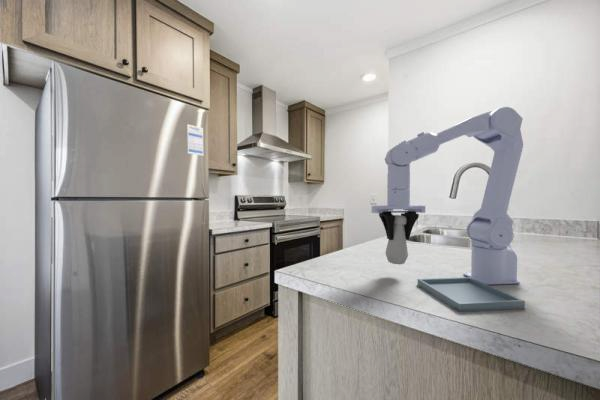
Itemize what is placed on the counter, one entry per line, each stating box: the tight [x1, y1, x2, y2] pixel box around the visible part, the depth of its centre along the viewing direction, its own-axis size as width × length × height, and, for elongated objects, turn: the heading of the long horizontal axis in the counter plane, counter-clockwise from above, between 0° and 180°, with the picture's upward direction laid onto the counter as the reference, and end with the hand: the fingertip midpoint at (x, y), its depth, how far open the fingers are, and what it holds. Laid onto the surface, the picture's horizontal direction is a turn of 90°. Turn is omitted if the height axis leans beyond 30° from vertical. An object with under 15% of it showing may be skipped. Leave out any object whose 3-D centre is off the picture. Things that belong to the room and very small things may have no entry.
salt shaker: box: [385, 214, 409, 265], centre depth 68 cm, size 6×6×13 cm
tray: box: [417, 276, 526, 313], centre depth 55 cm, size 14×14×2 cm
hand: (398, 239), depth 67 cm, fingers closed on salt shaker, 4 cm apart
